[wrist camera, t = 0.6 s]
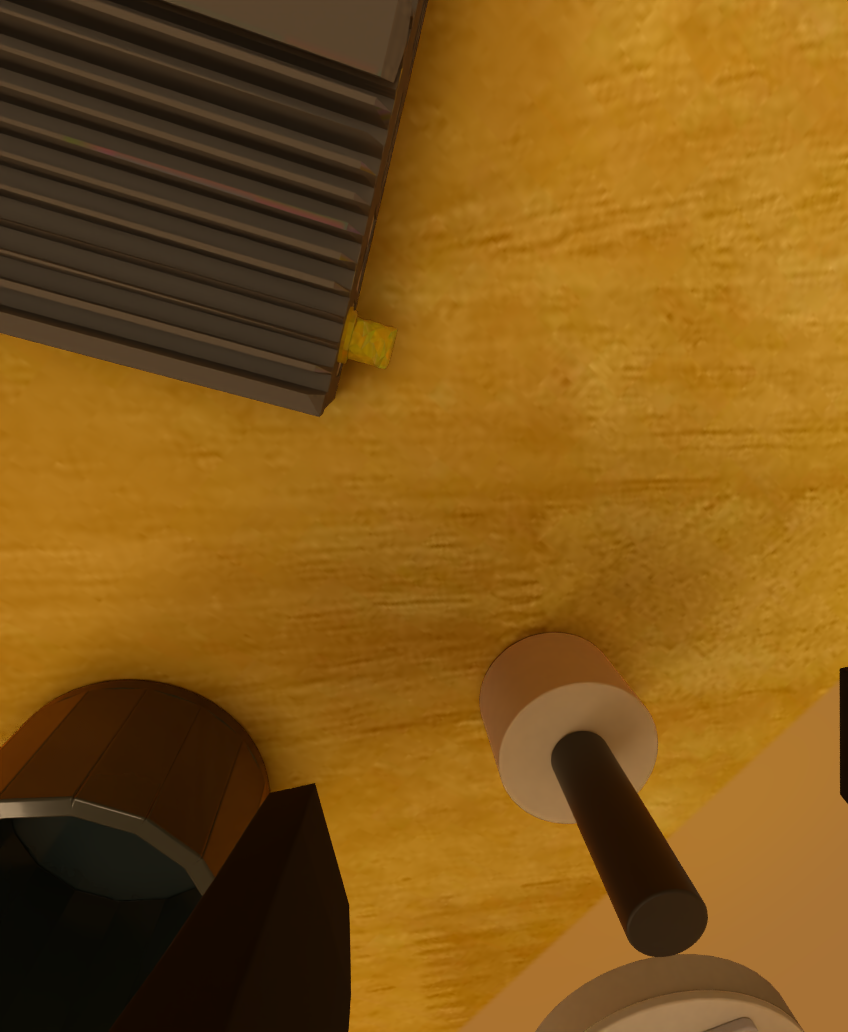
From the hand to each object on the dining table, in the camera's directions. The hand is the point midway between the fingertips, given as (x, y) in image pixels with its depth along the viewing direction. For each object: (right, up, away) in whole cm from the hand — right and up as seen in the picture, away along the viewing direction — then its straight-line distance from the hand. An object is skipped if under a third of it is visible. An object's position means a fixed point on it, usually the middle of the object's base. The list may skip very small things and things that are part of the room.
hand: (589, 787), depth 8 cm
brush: (+2, -2, +11) cm, 11 cm away
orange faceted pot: (-11, -5, +11) cm, 16 cm away
